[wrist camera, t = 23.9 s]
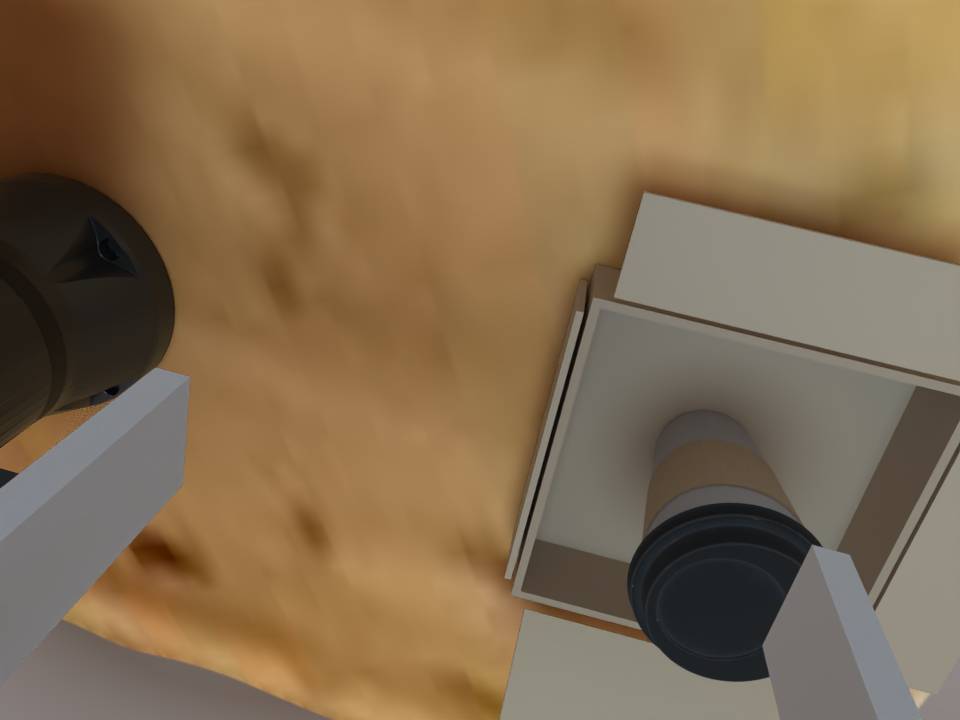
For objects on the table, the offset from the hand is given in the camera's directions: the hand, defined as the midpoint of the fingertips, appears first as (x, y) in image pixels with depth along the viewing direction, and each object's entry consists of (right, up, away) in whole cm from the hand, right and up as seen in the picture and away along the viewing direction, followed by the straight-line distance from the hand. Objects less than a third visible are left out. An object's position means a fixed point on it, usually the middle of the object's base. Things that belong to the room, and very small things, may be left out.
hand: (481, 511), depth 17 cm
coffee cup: (+14, -2, +33) cm, 36 cm away
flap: (+11, -18, +30) cm, 37 cm away
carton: (+17, -1, +32) cm, 36 cm away
